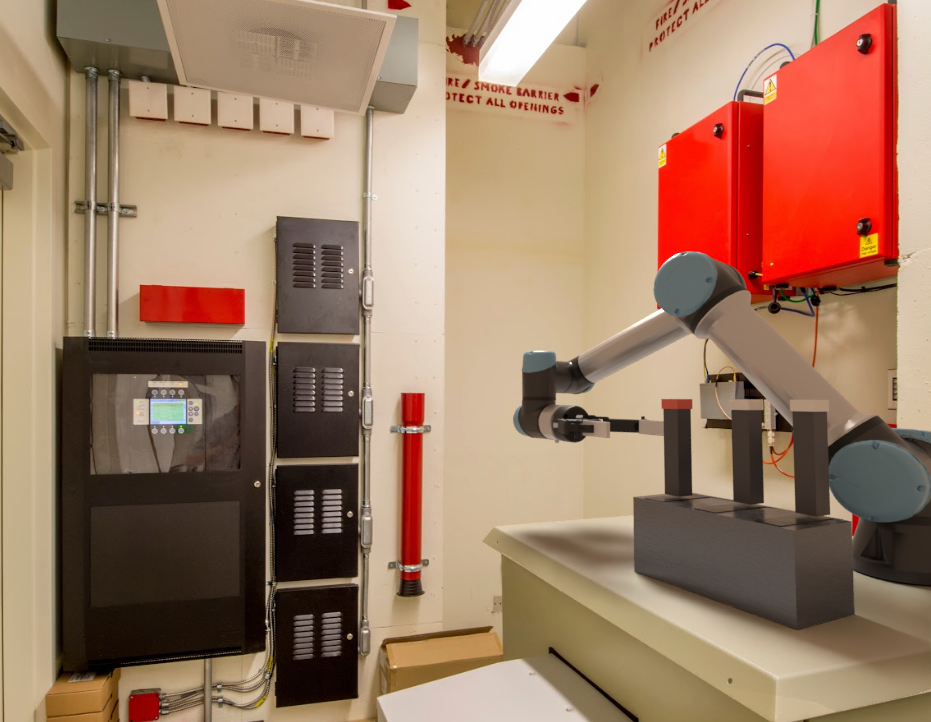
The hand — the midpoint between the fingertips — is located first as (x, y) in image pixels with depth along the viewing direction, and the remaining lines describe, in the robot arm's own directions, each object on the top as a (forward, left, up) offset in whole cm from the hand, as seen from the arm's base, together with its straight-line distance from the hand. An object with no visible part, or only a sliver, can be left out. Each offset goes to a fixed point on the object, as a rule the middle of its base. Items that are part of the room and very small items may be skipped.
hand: (638, 429), depth 107 cm
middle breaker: (-17, +9, -10) cm, 22 cm away
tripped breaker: (-7, +6, -10) cm, 14 cm away
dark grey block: (-14, +12, -23) cm, 30 cm away
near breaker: (-25, +15, -10) cm, 31 cm away
